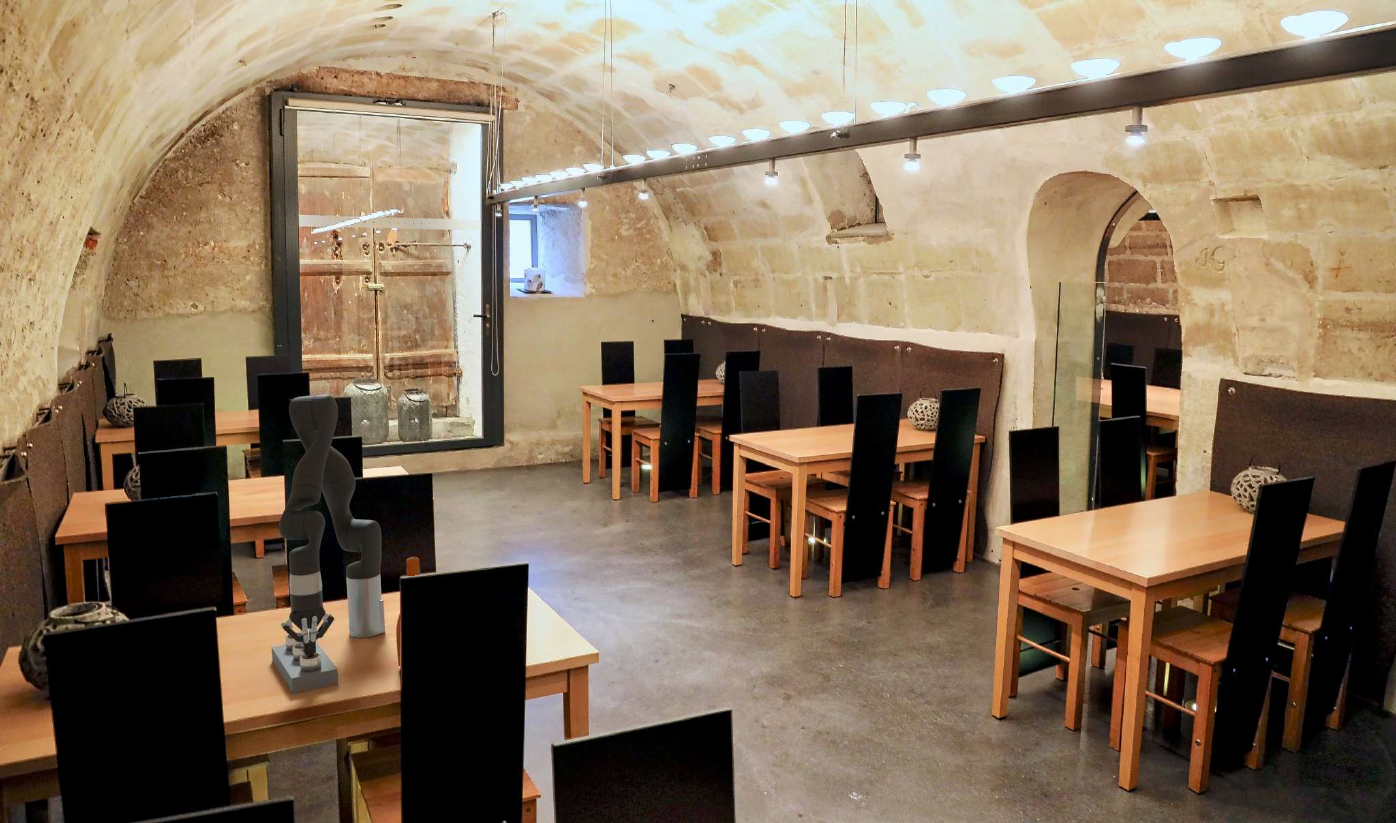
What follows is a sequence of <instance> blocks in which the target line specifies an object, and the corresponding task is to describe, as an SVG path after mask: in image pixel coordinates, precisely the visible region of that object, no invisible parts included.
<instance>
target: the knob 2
mask: <svg viewBox="0 0 1396 823" xmlns="http://www.w3.org/2000/svg"><path fill="white" fill-rule="evenodd" d="M303 654H304V652H303V643H298V644H295V645H294V646H293V659H294V660H298V661H300V656H301V655H303Z"/></svg>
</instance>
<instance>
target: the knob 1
mask: <svg viewBox="0 0 1396 823" xmlns="http://www.w3.org/2000/svg"><path fill="white" fill-rule="evenodd" d="M296 633H297V634H298V635H300V636H301V632H296ZM298 643H303V642H297V641H296V640H295V639H293V638H292V637H291V636H290V635H289V634H287V635H286V636H285V644H286V649H288V650H293V646H294V645H295V644H298Z"/></svg>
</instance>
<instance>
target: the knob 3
mask: <svg viewBox="0 0 1396 823" xmlns="http://www.w3.org/2000/svg"><path fill="white" fill-rule="evenodd" d="M321 667H322V665H321V654H320V653H314V656H310V657H307V655H305V654H303V655H301V656H300V669H301V670H302V671H315V670H318V669H320V668H321Z"/></svg>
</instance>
